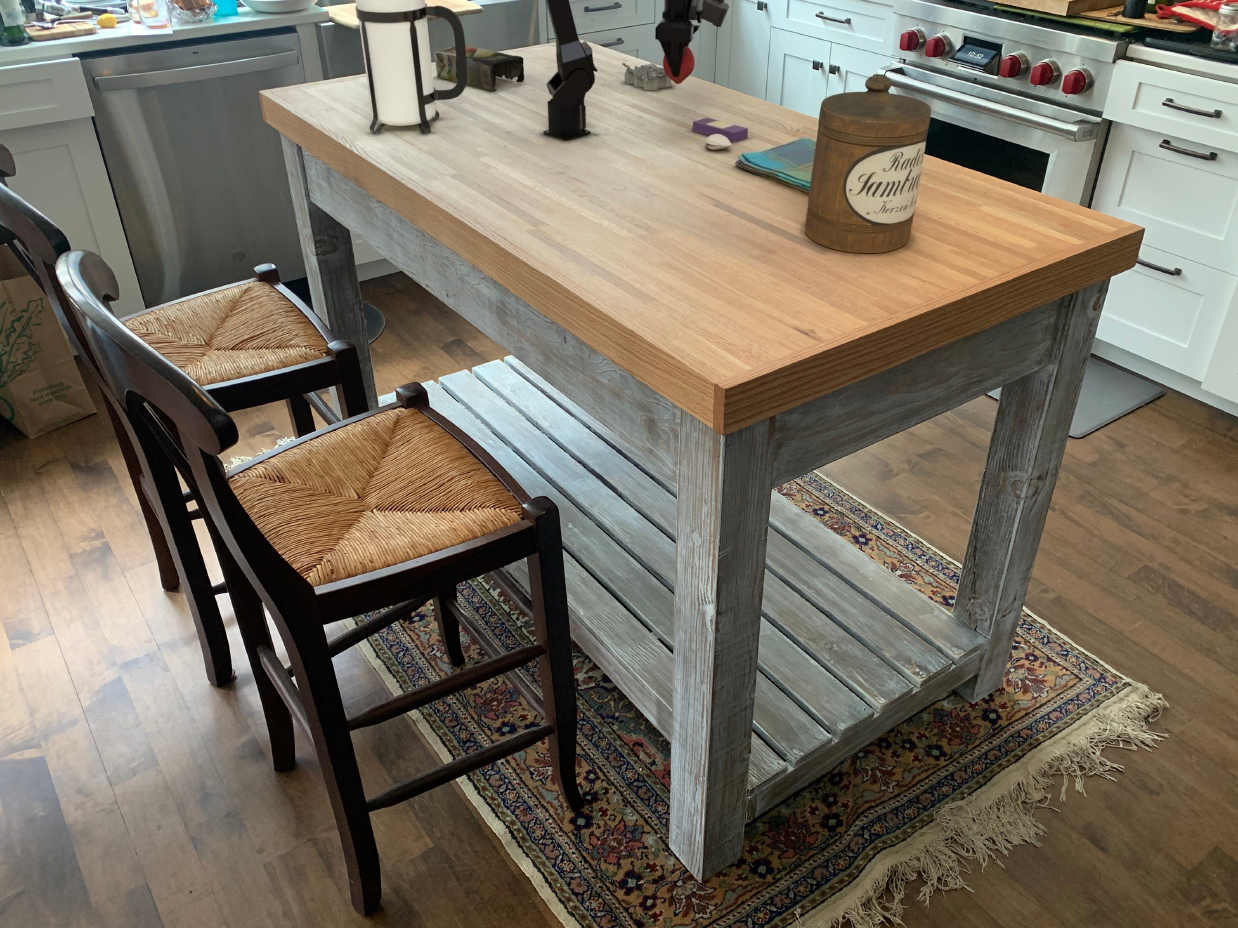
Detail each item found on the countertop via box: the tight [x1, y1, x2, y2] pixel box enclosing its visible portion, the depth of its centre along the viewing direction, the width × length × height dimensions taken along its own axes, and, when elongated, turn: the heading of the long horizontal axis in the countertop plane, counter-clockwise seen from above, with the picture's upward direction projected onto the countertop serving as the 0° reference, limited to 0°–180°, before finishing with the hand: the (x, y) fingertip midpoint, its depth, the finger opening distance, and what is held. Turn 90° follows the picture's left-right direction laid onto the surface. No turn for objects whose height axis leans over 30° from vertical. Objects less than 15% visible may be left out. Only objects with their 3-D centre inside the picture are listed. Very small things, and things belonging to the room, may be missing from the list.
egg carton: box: [621, 62, 672, 91], centre depth 212 cm, size 11×8×4 cm
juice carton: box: [434, 44, 525, 92], centre depth 214 cm, size 20×10×6 cm, turn 48°
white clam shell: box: [705, 134, 733, 151], centre depth 174 cm, size 4×5×2 cm
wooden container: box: [804, 73, 932, 254], centre depth 136 cm, size 15×15×22 cm
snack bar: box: [691, 117, 749, 144], centre depth 182 cm, size 10×4×2 cm, turn 44°
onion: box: [662, 46, 696, 85], centre depth 180 cm, size 6×6×8 cm
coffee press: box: [354, 0, 467, 135], centre depth 179 cm, size 17×16×30 cm
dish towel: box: [734, 137, 816, 194], centre depth 162 cm, size 17×23×3 cm
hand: (678, 72), depth 181 cm, fingers closed on onion, 6 cm apart
